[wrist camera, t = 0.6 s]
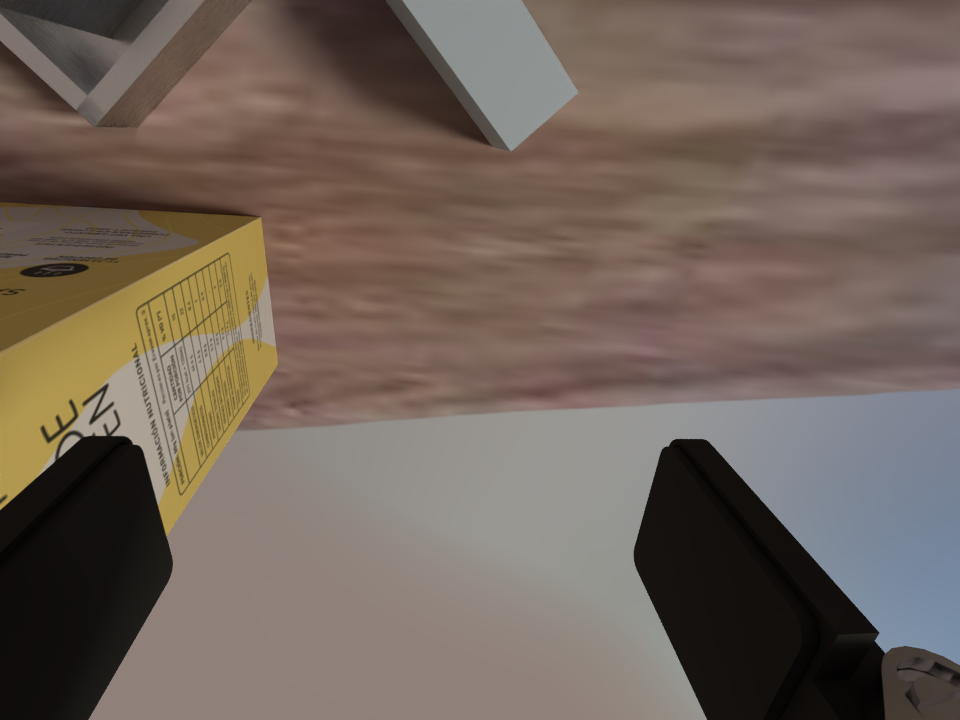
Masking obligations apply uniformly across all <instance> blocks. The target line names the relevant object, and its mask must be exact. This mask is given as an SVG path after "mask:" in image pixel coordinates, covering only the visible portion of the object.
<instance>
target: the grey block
mask: <svg viewBox="0 0 960 720" xmlns="http://www.w3.org/2000/svg"><path fill="white" fill-rule="evenodd" d="M385 1H386V2H387V4H388V5H389V6H390V8H391V9H392V10H393V12H394V13H395V14H396V16H397V17H398V19H399V20H400V21H401V23H402V24H403V25H404V27H405V28H406V30H407V31H408V32H409V34H410V35H411V36H412V38H413V39H414V40H415V42H416V43H417V45H418V46H419V47H420V49H421V50H422V51H423V53H424V54H425V55H426V57H427V58H428V60H429V61H430V62H431V64H432V65H433V66H434V68H435V69H436V70H437V72H438V73H439V75H440V76H441V77H442V79H443V80H444V81H445V83H446V84H447V85H448V87H449V88H450V90H451V91H452V92H453V94H454V95H455V96H456V98H457V99H458V101H459V102H460V103H461V105H462V106H463V107H464V109H465V110H466V111H467V113H468V114H469V116H470V117H471V118H472V120H473V121H474V122H475V124H476V125H477V126H478V128H479V129H480V131H481V132H482V133H483V135H484V136H485V137H486V139H487V140H488V141H489V143H490V144H491V146H492V147H496V148H500V149H503V150H507V151H512V150H513V149H515V148H516V147H517V146H518V145H519V144H520V143H521V142H523V141H524V140H525V139H526V138H527V137H528V136H529V135H531V134H532V133H533V132H534V131H535V130H536V129H537V128H539V127H540V126H541V125H542V124H543V123H544V122H545V121H547V120H548V119H549V118H550V117H551V116H552V115H553V114H554V113H556V112H557V111H558V110H559V109H560V108H561V107H562V106H564V105H565V104H566V103H567V102H568V101H569V100H570V99H572V98H573V97H574V96H575V95H576V94H577V93H578V91H577V89H576V88H575V86H574V84H573V83H572V81H571V79H570V78H569V76H568V75H567V73H566V71H565V70H564V68H563V67H562V65H561V63H560V62H559V60H558V58H557V57H556V55H555V54H554V52H553V50H552V49H551V47H550V46H549V44H548V42H547V41H546V39H545V38H544V36H543V34H542V33H541V31H540V29H539V28H538V26H537V25H536V23H535V21H534V20H533V18H532V17H531V15H530V13H529V12H528V10H527V8H526V7H525V5H524V4H523V2H522V0H385Z"/></svg>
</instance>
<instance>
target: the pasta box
mask: <svg viewBox="0 0 960 720" xmlns="http://www.w3.org/2000/svg"><path fill="white" fill-rule="evenodd" d="M277 365H278V361H277V352H276V343H275V335H274V326H273V318H272V309H271V300H270V292H269V283H268V275H267V266H266V257H265V249H264V240H263V232H262V223H261V217H253V216H235V215H218V214H200V213H182V212H165V211H147V210H129V209H112V208H94V207H76V206H59V205H41V204H23V203H6V202H0V510H1V509H2V508H3V507H4V506H5V505H6V504H8V503H9V502H10V501H11V500H12V499H13V498H14V497H15V496H17V495H18V494H19V493H20V492H21V491H22V490H23V489H24V488H26V487H27V486H28V485H29V484H30V483H31V482H32V481H34V480H35V479H36V478H37V477H38V476H39V475H40V474H41V473H43V472H44V471H45V470H46V469H47V468H48V467H49V466H50V465H52V464H53V463H54V462H55V461H56V460H57V459H58V458H59V457H61V456H62V455H63V454H64V453H65V452H66V451H67V450H69V449H70V448H71V447H72V446H73V445H74V444H75V443H76V442H78V441H79V440H80V439H82V438H83V437H86V436H126V437H128V438H129V439H130V440H131V441H132V442H133V445H139V446H140V447H141V448H142V450H143V452H144V456H145V459H146V463H147V467H148V470H149V474H150V478H151V481H152V485H153V489H154V492H155V496H156V500H157V504H158V507H159V511H160V515H161V518H162V522H163V526H164V529H165V533H166V537H167V535H168V534H169V532H170V531H171V529H172V527H173V526H174V524H175V523H176V521H177V520H178V518H179V517H180V515H181V514H182V512H183V510H184V509H185V507H186V506H187V504H188V503H189V501H190V500H191V498H192V497H193V495H194V493H195V492H196V490H197V489H198V487H199V486H200V484H201V483H202V481H203V480H204V478H205V476H206V475H207V473H208V472H209V470H210V469H211V467H212V466H213V464H214V463H215V461H216V459H217V458H218V456H219V455H220V453H221V452H222V450H223V449H224V447H225V445H226V444H227V442H228V441H229V439H230V438H231V436H232V435H233V433H234V432H235V430H236V429H237V427H238V425H239V424H240V422H241V421H242V419H243V418H244V416H245V415H246V413H247V412H248V410H249V408H250V407H251V405H252V404H253V402H254V401H255V399H256V398H257V396H258V395H259V393H260V391H261V390H262V388H263V387H264V385H265V384H266V382H267V381H268V379H269V378H270V376H271V374H272V373H273V371H274V370H275V368H276V367H277Z"/></svg>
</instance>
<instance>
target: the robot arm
mask: <svg viewBox="0 0 960 720" xmlns="http://www.w3.org/2000/svg"><path fill="white" fill-rule="evenodd" d="M634 562H635V566H636V569H637V571H638V573H639V576H640V577H641V579H642V582H643V584H644V586H645V588H646V590H647V593H648V595H649V597H650V599H651V601H652V603H653V605H654V607H655V610H656V612H657V614H658V616H659V618H660V620H661V622H662V625H663V627H664V629H665V631H666V633H667V635H668V637H669V639H670V642H671V644H672V646H673V648H674V650H675V652H676V654H677V656H678V659H679V661H680V663H681V665H682V667H683V669H684V671H685V673H686V675H687V678H688V680H689V682H690V684H691V686H692V688H693V691H694V693H695V695H696V697H697V699H698V701H699V703H700V705H701V708H702V710H703V712H704V714H705V716H706V718H707V720H960V665H958V664H956V663H954V662H953V661H951V660H949V659H947V658H945V657H943V656H940V655H938V654H935V653H932V652H930V651H927V650H924V649H920V648H914V647H907V646H903V647H897V648H892V649H890V650H889V651H888V652H887V653H886V654H885V653H884V651H883V650H882V649H881V648H880V647H879V646H878V644H877V643H876V642H875V639H876V638H877V636H878V634H879V632H878V631H877V630H876V628H875V627H874V626H873V625H872V624H871V623H870V622H869V621H868V620H867V618H866V617H865V616H864V615H863V614H862V613H861V612H860V611H859V610H858V608H857V607H856V606H855V605H854V604H853V603H852V602H851V600H850V599H849V598H848V597H847V596H846V595H845V594H844V593H843V592H842V590H841V589H840V588H839V587H838V586H837V585H836V584H835V583H834V581H833V580H832V579H831V578H830V577H829V576H828V575H827V574H826V572H825V571H824V570H823V569H822V568H821V567H820V566H819V565H818V563H817V562H816V561H815V560H814V559H813V558H812V557H811V556H810V554H809V553H808V552H807V551H806V550H805V549H804V548H803V547H802V546H801V544H800V543H799V542H798V541H797V540H796V539H795V538H794V537H793V536H792V534H791V533H790V532H789V531H788V530H787V529H786V528H785V527H784V525H783V524H782V523H781V522H780V521H779V520H778V519H777V518H776V517H775V515H774V514H773V513H772V512H771V511H770V510H769V509H768V507H767V506H766V505H765V504H764V503H763V502H762V501H761V500H760V498H759V497H758V496H757V495H756V494H755V493H754V492H753V491H752V490H751V488H750V487H749V486H748V485H747V484H746V483H745V482H744V481H743V479H742V478H741V477H740V476H739V475H738V474H737V473H736V472H735V471H734V469H733V468H732V467H731V466H730V465H729V464H728V463H727V462H726V460H725V459H724V458H723V457H722V456H721V455H720V454H719V453H718V452H717V450H716V449H715V448H714V447H713V446H712V445H711V444H710V443H709V442H708V441H707V440H704V439H675V440H673V441H672V442H671V443H670V445H669V447H664V448H663V449H662V451H661V454H660V457H659V461H658V465H657V468H656V472H655V476H654V479H653V483H652V486H651V490H650V493H649V497H648V501H647V504H646V508H645V511H644V515H643V519H642V522H641V526H640V530H639V533H638V537H637V541H636V544H635V548H634ZM172 567H173V560H172V555H171V552H170V548H169V544H168V540H167V537H166V533H165V529H164V526H163V522H162V518H161V515H160V511H159V507H158V504H157V500H156V496H155V492H154V489H153V485H152V481H151V478H150V474H149V470H148V467H147V463H146V459H145V456H144V452H143V450H142V448H141V447H140V446H139V445H133V442H132V441H131V440H130V439H129V438H128V437H126V436H86V437H83V438H82V439H80V440H79V441H78V442H76V443H75V444H74V445H73V446H72V447H71V448H70V449H69V450H67V451H66V452H65V453H64V454H63V455H62V456H61V457H59V458H58V459H57V460H56V461H55V462H54V463H53V464H52V465H50V466H49V467H48V468H47V469H46V470H45V471H44V472H43V473H41V474H40V475H39V476H38V477H37V478H36V479H35V480H34V481H32V482H31V483H30V484H29V485H28V486H27V487H26V488H24V489H23V490H22V491H21V492H20V493H19V494H18V495H17V496H15V497H14V498H13V499H12V500H11V501H10V502H9V503H8V504H6V505H5V506H4V507H3V508H2V509H1V510H0V720H88V719H89V718H90V716H91V714H92V712H93V711H94V709H95V707H96V706H97V704H98V702H99V700H100V699H101V697H102V695H103V693H104V692H105V690H106V688H107V686H108V685H109V683H110V681H111V680H112V678H113V676H114V674H115V673H116V671H117V669H118V667H119V665H120V664H121V662H122V661H123V659H124V657H125V655H126V654H127V652H128V650H129V648H130V647H131V645H132V643H133V642H134V640H135V638H136V636H137V635H138V633H139V631H140V629H141V628H142V626H143V624H144V623H145V621H146V619H147V617H148V616H149V614H150V612H151V610H152V608H153V607H154V605H155V604H156V602H157V600H158V598H159V597H160V595H161V593H162V591H163V590H164V588H165V586H166V585H167V583H168V581H169V578H170V576H171V572H172Z"/></svg>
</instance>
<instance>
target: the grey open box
mask: <svg viewBox="0 0 960 720" xmlns="http://www.w3.org/2000/svg"><path fill="white" fill-rule="evenodd" d="M250 1H251V0H0V41H1V42H2V43H3V44H4V45H5V46H7V47H8V48H9V49H10V50H11V51H12V52H13V53H14V54H15V55H16V56H17V57H19V58H20V59H21V60H22V61H23V62H24V63H25V64H26V65H27V66H28V67H29V68H30V69H32V70H33V71H34V72H35V73H36V74H37V75H38V76H39V77H40V78H41V79H42V80H44V81H45V82H46V83H47V84H48V85H49V86H50V87H51V88H52V89H53V90H54V91H56V92H57V93H58V94H59V95H60V96H61V97H62V98H63V99H64V100H65V101H66V102H67V103H69V104H70V105H71V106H72V107H73V108H74V109H75V110H76V111H77V112H78V113H79V114H81V115H82V116H83V117H84V118H85V119H86V120H87V121H88V122H89V123H90V124H91V125H92V126H94V127H131V128H137V127H138V126H139V125H140V124H141V123H142V122H143V120H144V119H145V118H146V117H147V116H148V115H149V114H150V113H151V111H152V110H153V109H154V108H155V107H156V106H157V105H158V104H159V103H160V101H161V100H162V99H163V98H164V97H165V96H166V95H167V94H168V92H169V91H170V90H171V89H172V88H173V87H174V86H175V85H176V84H177V82H178V81H179V80H180V79H181V78H182V77H183V76H184V75H185V73H186V72H187V71H188V70H189V69H190V68H191V67H192V66H193V64H194V63H195V62H196V61H197V60H198V59H199V58H200V57H201V56H202V54H203V53H204V52H205V51H206V50H207V49H208V48H209V47H210V45H211V44H212V43H213V42H214V41H215V40H216V39H217V38H218V37H219V35H220V34H221V33H222V32H223V31H224V30H225V29H226V28H227V26H228V25H229V24H230V23H231V22H232V21H233V20H234V19H235V18H236V16H237V15H238V14H239V13H240V12H241V11H242V10H243V9H244V7H245V6H246V5H247V4H248V3H249V2H250Z"/></svg>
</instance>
